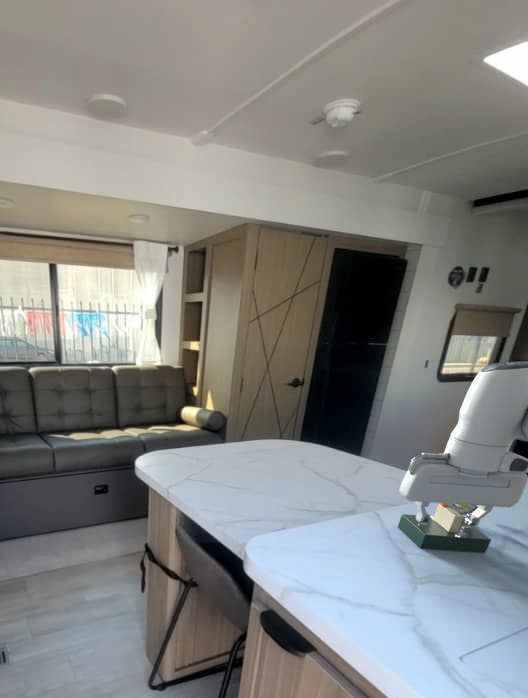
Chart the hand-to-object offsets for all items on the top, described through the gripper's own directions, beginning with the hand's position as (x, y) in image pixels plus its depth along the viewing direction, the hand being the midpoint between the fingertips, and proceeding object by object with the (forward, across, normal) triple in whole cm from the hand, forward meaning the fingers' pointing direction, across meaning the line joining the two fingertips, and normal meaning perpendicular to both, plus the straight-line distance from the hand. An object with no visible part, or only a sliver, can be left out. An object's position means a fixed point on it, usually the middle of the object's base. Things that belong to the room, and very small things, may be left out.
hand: (445, 522), depth 80 cm
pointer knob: (+1, 0, 0) cm, 1 cm away
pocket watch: (+4, +8, +10) cm, 14 cm away
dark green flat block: (+4, 0, 0) cm, 4 cm away
